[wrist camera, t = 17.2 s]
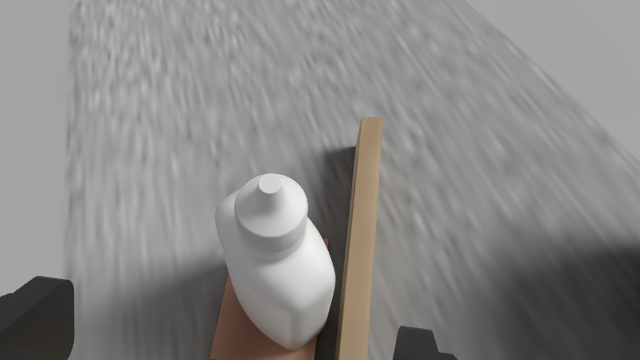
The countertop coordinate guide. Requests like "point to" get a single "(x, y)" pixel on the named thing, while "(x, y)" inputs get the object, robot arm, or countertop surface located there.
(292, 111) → the countertop surface
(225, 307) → the tan l-shaped piece
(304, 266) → the eye dropper bottle
